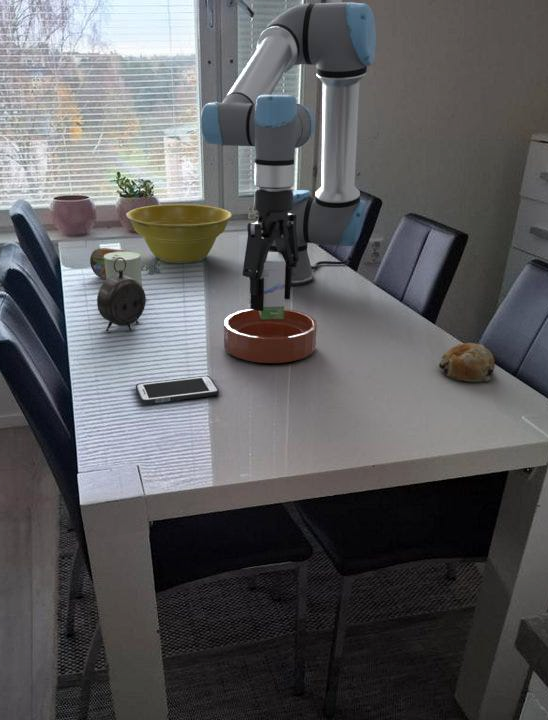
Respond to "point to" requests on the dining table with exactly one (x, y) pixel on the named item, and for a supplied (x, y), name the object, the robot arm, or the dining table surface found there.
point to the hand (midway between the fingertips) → (270, 303)
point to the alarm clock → (121, 300)
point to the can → (123, 264)
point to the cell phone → (176, 389)
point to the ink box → (273, 286)
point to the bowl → (270, 336)
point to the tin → (101, 260)
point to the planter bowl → (179, 230)
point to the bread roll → (468, 363)
